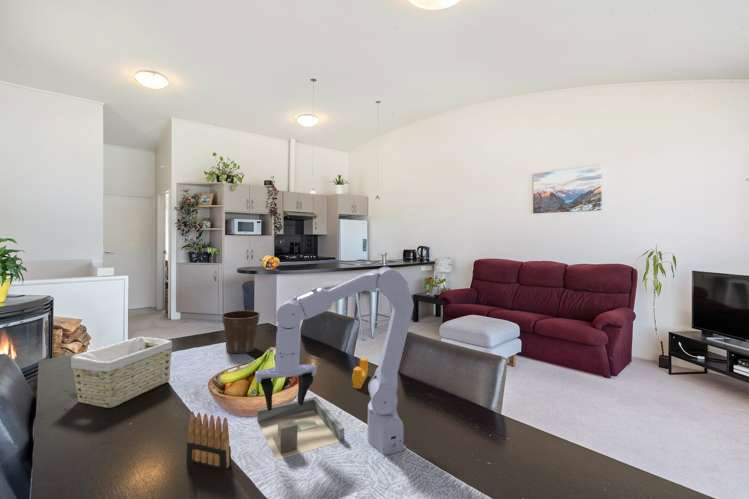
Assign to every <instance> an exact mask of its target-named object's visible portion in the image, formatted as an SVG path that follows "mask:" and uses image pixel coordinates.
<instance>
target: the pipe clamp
mask: <svg viewBox="0 0 749 499" xmlns="http://www.w3.org/2000/svg"><path fill="white" fill-rule="evenodd" d="M368 371H369V359H368V358H362V357H361V358H360V360H359V366H355V367H354V368H353V372H352V375H351V382H352V388H353V389H360V390H361V389H362V387H363V384H364V383H365V381H366V379H367V377H368V374H369V372H368Z"/></svg>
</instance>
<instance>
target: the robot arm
mask: <svg viewBox="0 0 749 499" xmlns="http://www.w3.org/2000/svg"><path fill="white" fill-rule="evenodd" d="M377 289H379V291H380V293H381V294H382V295H384V296H385V297H386V298H387V300H388V301H389V302H390V305H392V310H391V314H390V318H389V321H388V322H389V323H388V326H387V330H386V335H385V338H384V342H383V347H382V350H381V351H382V352H381V355H380V359H379V363H378V367H377V368H376V369H375V372H374V375H373V377H372V378H371V379H370V380H369V382H368V386H367V390H368V393H369V396H370V401H369V403H368V404H367V429H366V430H367V438H366V441H367V443H368V444H369V445H370V446H372V447H373V448H375V449H376V450H378V452H379V453H380V454H381V455H387V456H389V455H392V454H395V453H398V452H401V451H404V450H406V449H407V446H406V445H405V444H404V434H405V433H404V431H405V430H404V428H405V427H404V422H403V421H402V419H401V418H400V416H399V415H398V412H397V406H398V400H399V398H398V396H397V391H398V372H399V369H400V364H401V360H402V356H403V352H404V347H405V343H406V340H407V336H408V333H409V328H410V323H411V319H412V315H413V311H414V306H415V305H414V301H413V297H412V295H411V292H410V288H409V284H408V281H407V280H406V278H405V277H404V276H403V275H402V274H401V273H400V272H399V271H397V270H395V269H393V268H392V267H389V266H382V267H380V268H378V269H373V270H370V271H367V272H364V273H362V274H360V275H357V276H355V277H353V278H351V279H349V280H347V281H345V282H342V283H340V284H338V285H336V286H334V287H332V288H329V289H327V288H324V287H320V288H317V287H316V286H315V287H313V288H311V289H310V291H309V292H308V293H305V294H303V295H300V296H297V295H295V296H293V298H292V300H291V299H289V300H286V301H284V302H283V303H281V305H280V306H279V308H278V309H277V311H276V316H275V317H276V318H275V319H276V322H277V326H276V328H277V332H276V335H275V336H276V339H275V340H276V341H275V359H274V361H275V362H274V366H272V367H268V368H266V369H262V370H255V374H254V379H255V382H256V383H260V386H261V388H262V391H263V394H264V398H265V403H266V405H265V406H266V407H267V409H268V411H271V410H272V406H273V393H274V386H275V385H274V384H273V380H274V379H275V380H276V379H282V378H289V377H296V376H297V381H298V382H297V384H298V386H297V387H298V390H297V391H298V392H297V401H298V403H299V404H300V405H303V402H304V399H306V398H305V397H306V395H307V393H308V391H309V388H310V387H311V385H312V383H313V382H314V376H313V375H317V366H316V365H315V364H314V363H311V364H300V358H301V357H300V353H301V338H302V335H301V334H302V332H301V322H302V320H309V319H310V318H313V317H316V316H317V315H321V314H323V313H325V312H327V311H329V310H331V308H332V306H333V304H334V302H337V301H340V300H342V299H346V298H347V297H350V296H353V295H355V294H358V293H361V292H363V291H365V292H369V293H377Z"/></svg>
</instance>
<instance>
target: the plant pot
mask: <svg viewBox="0 0 749 499" xmlns="http://www.w3.org/2000/svg"><path fill="white" fill-rule="evenodd" d="M260 316H261V313H260V312H259V311H255V310H233V311H229V312H225V313H222V314H221V318H222V323H223V328H224V336H225V337H224V340H225V350H226V352H227V353H228V354H236V353H237V354H246V353H250V352H253V351H255V349H256V342H257V331H258V324H259V320H260Z"/></svg>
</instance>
